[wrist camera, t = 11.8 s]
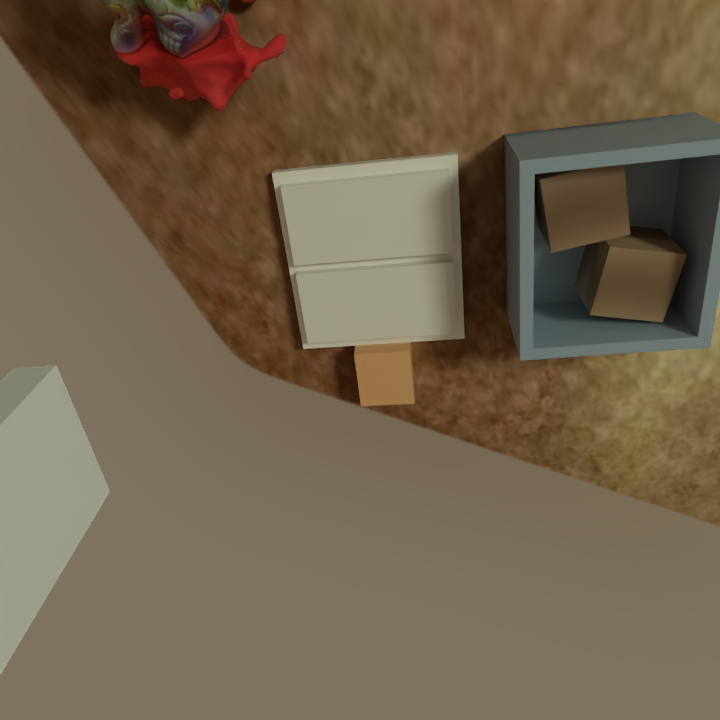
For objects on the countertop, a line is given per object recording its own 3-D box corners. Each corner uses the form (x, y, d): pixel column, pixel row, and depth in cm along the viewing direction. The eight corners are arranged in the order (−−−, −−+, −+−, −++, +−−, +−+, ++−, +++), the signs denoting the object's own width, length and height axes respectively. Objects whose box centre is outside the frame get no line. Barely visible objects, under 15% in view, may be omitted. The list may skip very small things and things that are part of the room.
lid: (274, 169, 37) (267, 178, 36) (456, 151, 36) (458, 159, 34) (314, 392, 45) (309, 409, 43) (465, 384, 44) (467, 400, 42)
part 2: (592, 221, 37) (610, 246, 33) (661, 228, 37) (687, 254, 33) (574, 285, 39) (590, 314, 35) (640, 292, 39) (662, 322, 35)
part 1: (528, 160, 35) (540, 179, 32) (602, 140, 34) (623, 158, 31) (538, 227, 37) (551, 252, 34) (610, 210, 36) (630, 234, 33)
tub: (504, 134, 35) (519, 160, 30) (695, 112, 34) (745, 136, 29) (506, 312, 41) (520, 360, 36) (671, 299, 39) (709, 347, 34)
